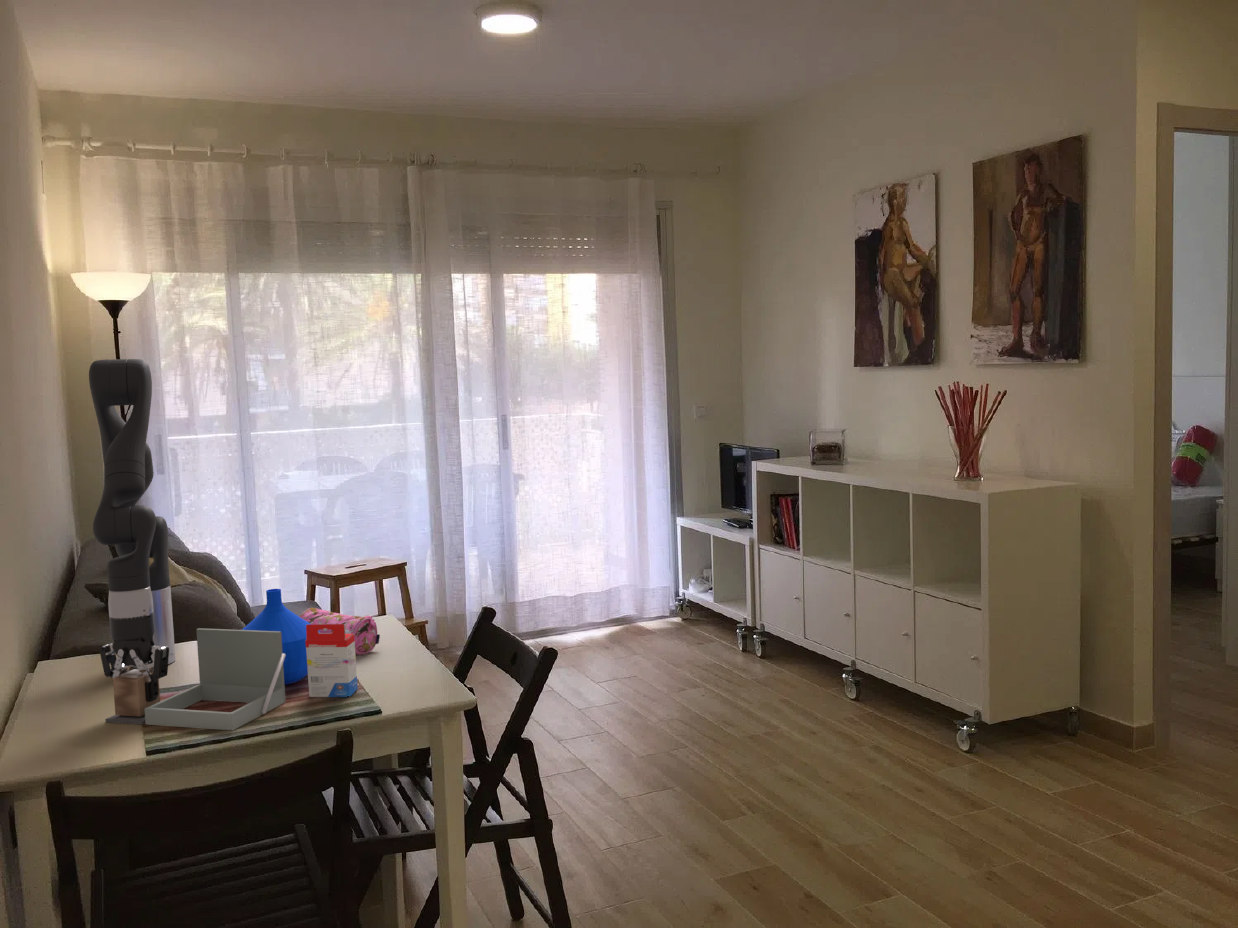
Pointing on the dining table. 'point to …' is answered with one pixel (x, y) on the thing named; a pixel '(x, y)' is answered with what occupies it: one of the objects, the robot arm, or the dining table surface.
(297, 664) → the blue funnel
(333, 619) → the pencil case
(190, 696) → the case
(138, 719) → the mat
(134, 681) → the module
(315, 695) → the ink box
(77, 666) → the dining table surface
